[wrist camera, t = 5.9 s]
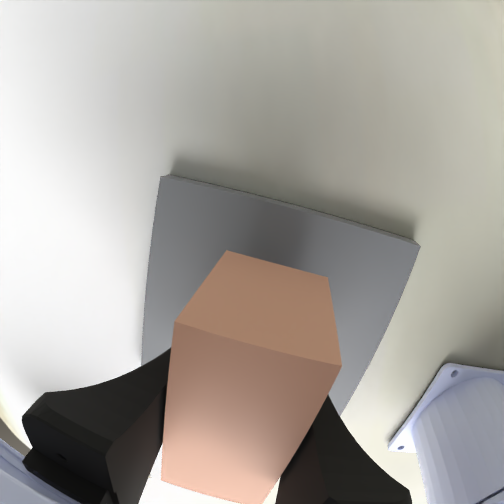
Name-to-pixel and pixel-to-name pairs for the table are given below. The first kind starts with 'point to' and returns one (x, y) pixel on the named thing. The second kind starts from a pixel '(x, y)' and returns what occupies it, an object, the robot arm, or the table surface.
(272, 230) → the plate
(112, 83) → the table surface
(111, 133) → the table surface
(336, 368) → the block
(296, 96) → the table surface
